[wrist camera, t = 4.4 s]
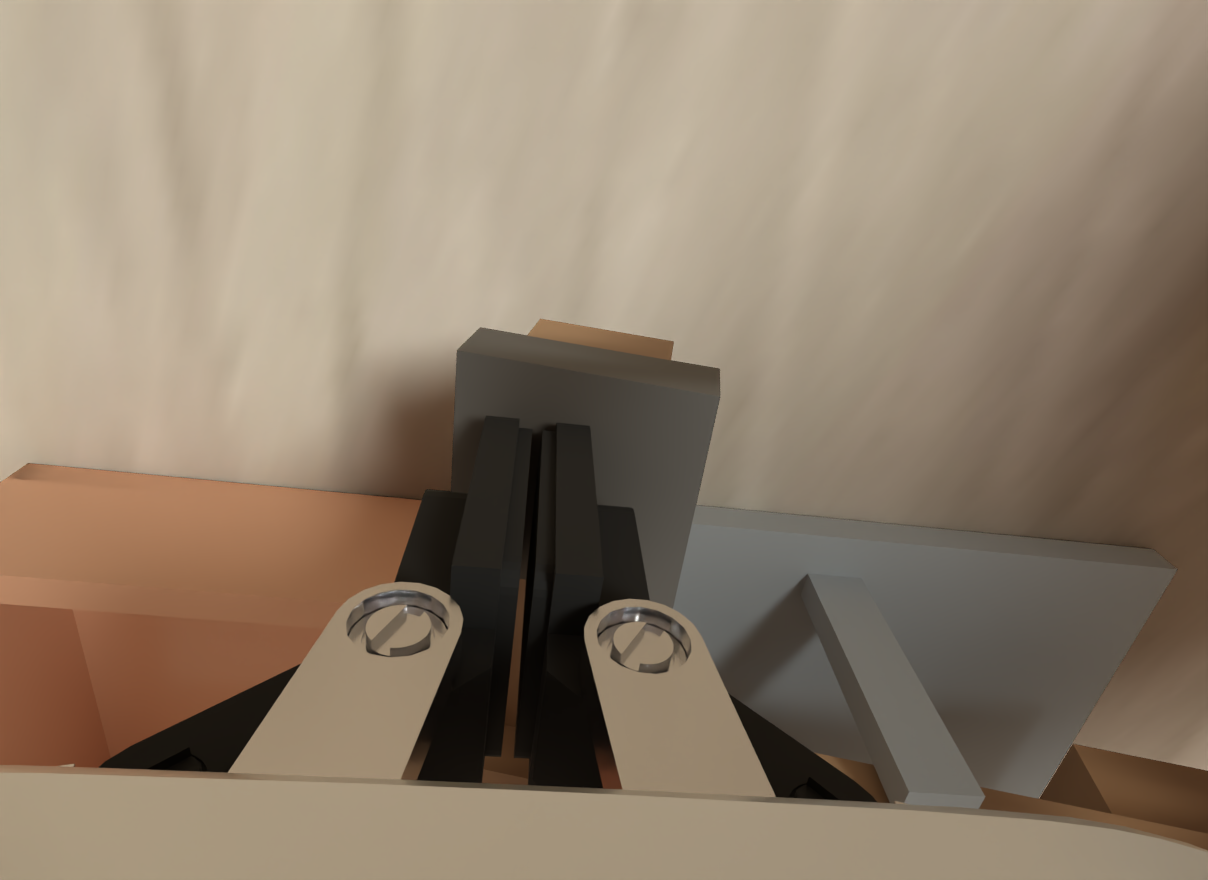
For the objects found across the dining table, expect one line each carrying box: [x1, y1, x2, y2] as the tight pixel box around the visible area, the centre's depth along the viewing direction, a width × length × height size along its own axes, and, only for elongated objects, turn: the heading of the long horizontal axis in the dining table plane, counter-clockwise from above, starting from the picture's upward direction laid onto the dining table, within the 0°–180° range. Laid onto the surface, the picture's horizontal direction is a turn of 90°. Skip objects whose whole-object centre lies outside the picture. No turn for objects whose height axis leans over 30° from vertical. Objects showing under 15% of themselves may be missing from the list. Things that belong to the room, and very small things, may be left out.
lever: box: [451, 319, 1208, 850], centre depth 16 cm, size 20×17×6 cm
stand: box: [673, 505, 1178, 809], centre depth 20 cm, size 20×13×8 cm, turn 82°
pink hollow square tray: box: [0, 463, 422, 768], centre depth 20 cm, size 12×12×4 cm
